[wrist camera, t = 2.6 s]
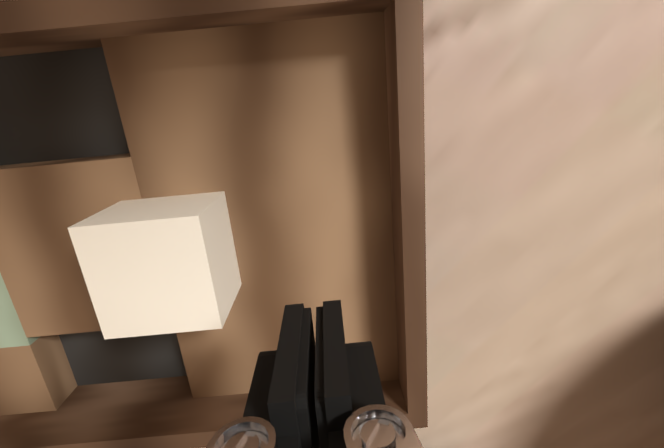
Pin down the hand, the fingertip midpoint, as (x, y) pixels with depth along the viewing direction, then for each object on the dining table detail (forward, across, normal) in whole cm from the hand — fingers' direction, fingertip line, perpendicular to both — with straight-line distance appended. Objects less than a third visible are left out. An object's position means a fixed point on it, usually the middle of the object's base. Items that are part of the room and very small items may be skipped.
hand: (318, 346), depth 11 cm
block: (+8, +7, -1) cm, 11 cm away
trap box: (+11, +10, -1) cm, 15 cm away
